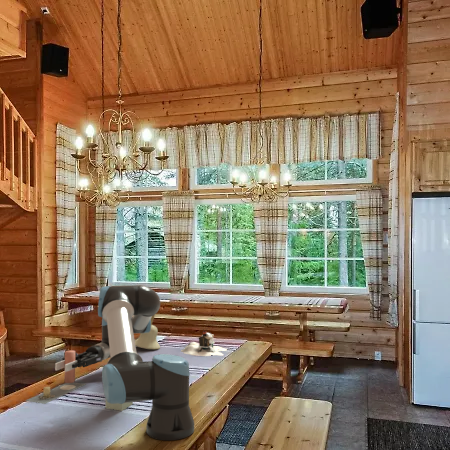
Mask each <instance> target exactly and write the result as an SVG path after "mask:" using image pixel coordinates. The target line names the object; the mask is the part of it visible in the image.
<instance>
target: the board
mask: <svg viewBox="0 0 450 450" xmlns="http://www.w3.org/2000/svg"><path fill="white" fill-rule="evenodd" d="M86 385H87V383H81V382H80V383H79V382H73V383H65V382H64V383H63V384H60V385H58V386H55V387H54V388H51V386H44V387H43V392H42V393H40V394H37V395H36V396H33V397H30V398H28V399H26V400H25V401H26V402H31V403H37V404H43V405H47V404H48V403H50V402H52V401H55V400H56V399H58V398H61V397H62V396H65V395H66V394H69V393H71V392H73V391H75V390H78V389H79V388H81V387H83V386H86Z"/></svg>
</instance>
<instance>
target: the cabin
mask: <svg viewBox="0 0 450 450" xmlns="http://www.w3.org/2000/svg"><path fill="white" fill-rule="evenodd" d="M202 330H203V331H202V335H201V336H199V337H198V342H195V341H192V342H189V343H188V344H187V345H186V346H185V348H183V349H181V350H180V352H182V353H183V354H184V355H185V354H186V355H189V356H197V357H198V356H199V357H212V356H211V355H213V356H222V357H223V356H224V354H223V353H222V352H221V351H223V352H224V351H225V352H227V350H228V349H227V348H224V347H221V346H219V345H214V344H215V343H216V342H215V341H214V336H215V335H214V334H212V333H211V332H210V330H208V332H207V330H204V329H202Z"/></svg>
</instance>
